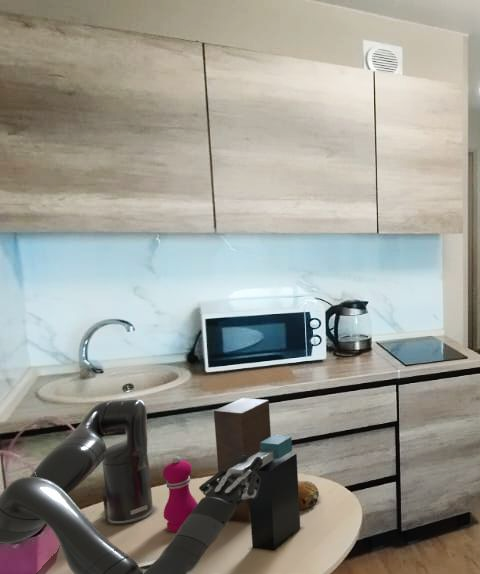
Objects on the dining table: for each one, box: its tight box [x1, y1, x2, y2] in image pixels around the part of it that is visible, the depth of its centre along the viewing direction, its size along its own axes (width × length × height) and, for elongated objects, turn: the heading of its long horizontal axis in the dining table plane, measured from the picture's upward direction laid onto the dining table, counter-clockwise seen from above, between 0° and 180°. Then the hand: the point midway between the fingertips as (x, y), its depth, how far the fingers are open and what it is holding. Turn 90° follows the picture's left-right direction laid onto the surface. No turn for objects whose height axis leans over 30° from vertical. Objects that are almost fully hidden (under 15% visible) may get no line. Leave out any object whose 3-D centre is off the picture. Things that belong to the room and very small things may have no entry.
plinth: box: [213, 397, 272, 524], centre depth 160 cm, size 8×10×32 cm
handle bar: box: [230, 434, 293, 479], centre depth 144 cm, size 5×16×4 cm, turn 175°
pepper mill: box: [162, 456, 198, 533], centre depth 153 cm, size 7×7×20 cm
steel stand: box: [249, 452, 301, 551], centre depth 150 cm, size 6×10×22 cm, turn 175°
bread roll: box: [298, 480, 320, 511], centre depth 169 cm, size 10×10×8 cm
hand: (253, 458), depth 141 cm, fingers closed on handle bar, 3 cm apart
